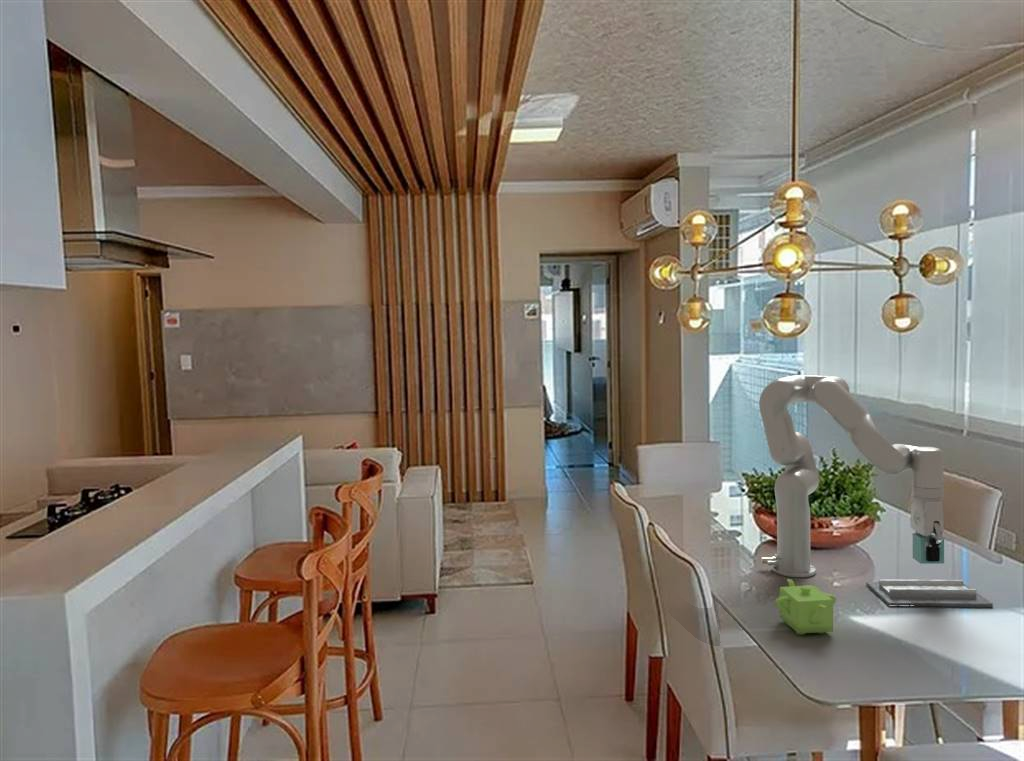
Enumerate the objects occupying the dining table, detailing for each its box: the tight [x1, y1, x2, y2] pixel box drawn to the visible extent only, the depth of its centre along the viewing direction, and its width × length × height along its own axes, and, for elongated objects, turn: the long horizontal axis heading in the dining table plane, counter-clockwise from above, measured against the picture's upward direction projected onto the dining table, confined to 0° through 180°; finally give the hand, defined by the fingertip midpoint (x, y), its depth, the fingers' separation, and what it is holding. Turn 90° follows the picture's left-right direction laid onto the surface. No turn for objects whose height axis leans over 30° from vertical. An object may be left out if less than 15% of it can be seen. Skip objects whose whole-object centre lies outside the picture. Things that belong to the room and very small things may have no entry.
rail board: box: [865, 578, 994, 608], centre depth 200 cm, size 26×16×3 cm, turn 84°
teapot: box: [774, 578, 837, 636], centre depth 181 cm, size 20×15×11 cm
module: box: [912, 532, 945, 565], centre depth 199 cm, size 6×5×7 cm
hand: (927, 557), depth 199 cm, fingers closed on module, 5 cm apart
